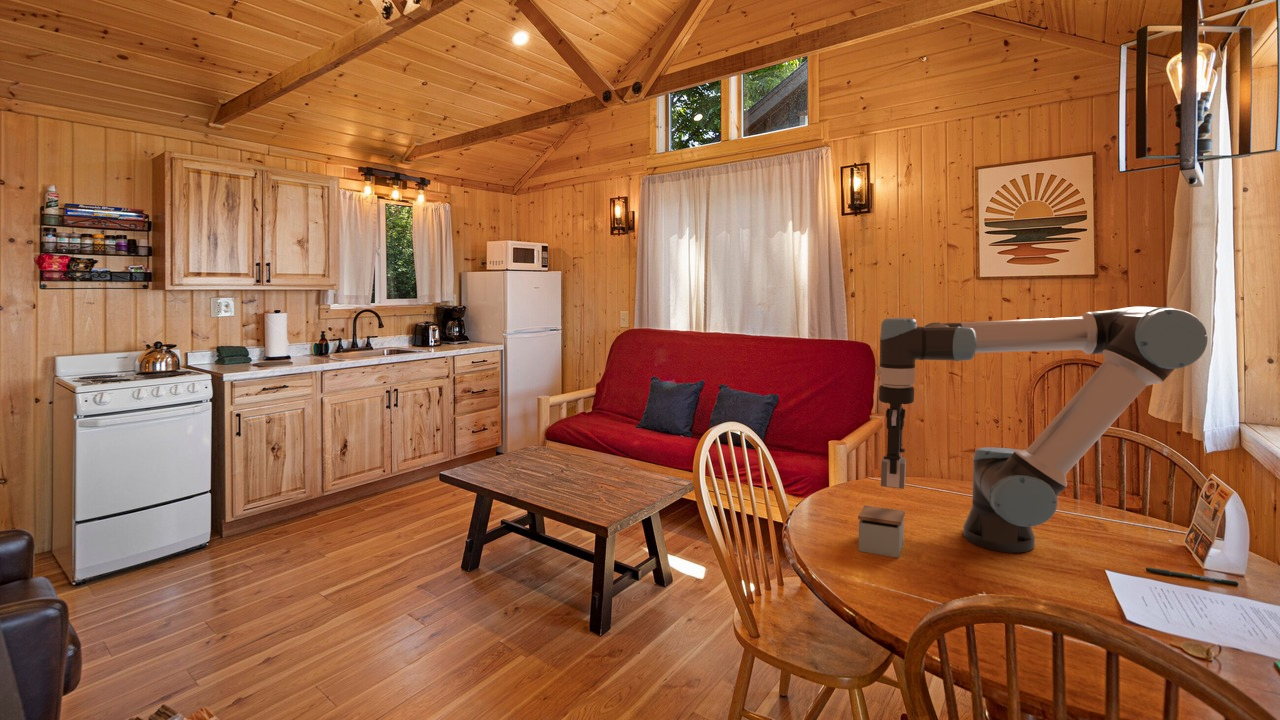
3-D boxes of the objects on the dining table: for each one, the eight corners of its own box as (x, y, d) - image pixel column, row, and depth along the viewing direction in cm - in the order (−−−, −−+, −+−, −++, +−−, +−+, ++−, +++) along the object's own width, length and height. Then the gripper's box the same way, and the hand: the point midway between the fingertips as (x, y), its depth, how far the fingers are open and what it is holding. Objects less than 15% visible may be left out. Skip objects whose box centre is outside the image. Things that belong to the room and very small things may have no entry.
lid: (904, 514, 149) (904, 510, 149) (900, 525, 140) (900, 522, 140) (864, 508, 153) (864, 505, 153) (858, 519, 144) (858, 515, 144)
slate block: (905, 482, 143) (905, 458, 143) (904, 489, 139) (905, 463, 138) (882, 480, 146) (883, 455, 145) (880, 486, 141) (881, 461, 140)
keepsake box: (903, 541, 149) (903, 514, 149) (899, 557, 141) (899, 529, 140) (864, 535, 154) (865, 509, 153) (858, 551, 145) (858, 522, 144)
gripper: (882, 379, 149) (880, 470, 152) (875, 390, 133) (872, 492, 136) (915, 380, 146) (912, 474, 149) (912, 392, 130) (909, 497, 133)
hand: (893, 482), depth 142 cm, fingers closed on slate block, 5 cm apart
